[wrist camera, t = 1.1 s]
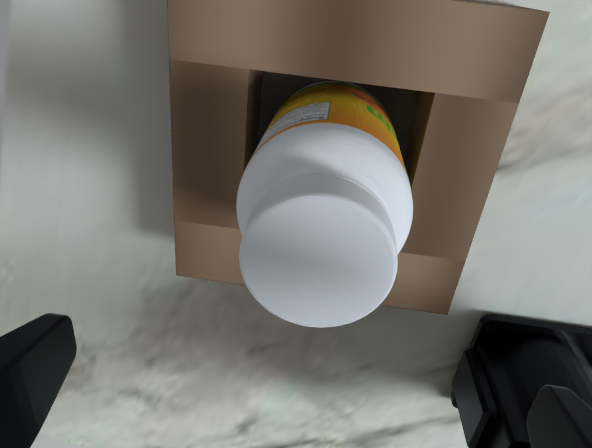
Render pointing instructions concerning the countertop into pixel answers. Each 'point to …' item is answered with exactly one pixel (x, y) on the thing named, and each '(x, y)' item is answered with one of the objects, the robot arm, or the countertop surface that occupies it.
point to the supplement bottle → (324, 207)
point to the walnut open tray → (359, 69)
